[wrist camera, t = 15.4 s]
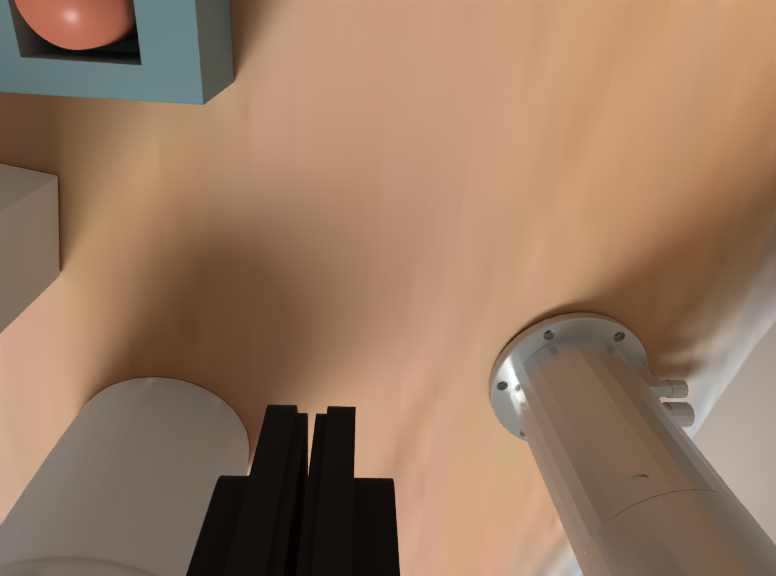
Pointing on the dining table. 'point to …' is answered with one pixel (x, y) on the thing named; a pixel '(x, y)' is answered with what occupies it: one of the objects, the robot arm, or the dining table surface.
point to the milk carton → (26, 238)
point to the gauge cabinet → (127, 56)
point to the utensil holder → (126, 484)
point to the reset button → (81, 21)
